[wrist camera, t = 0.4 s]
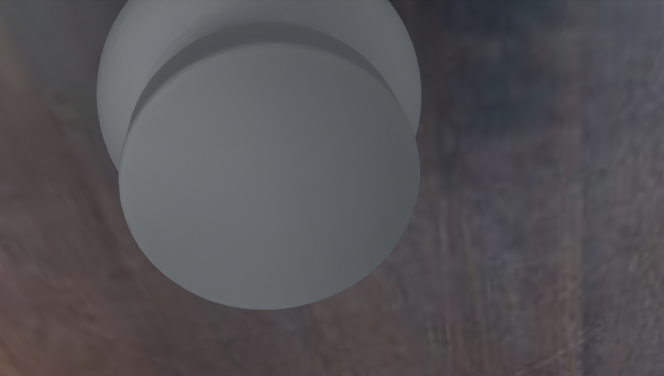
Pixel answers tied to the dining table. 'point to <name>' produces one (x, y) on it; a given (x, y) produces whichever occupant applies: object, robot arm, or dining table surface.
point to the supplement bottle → (262, 142)
